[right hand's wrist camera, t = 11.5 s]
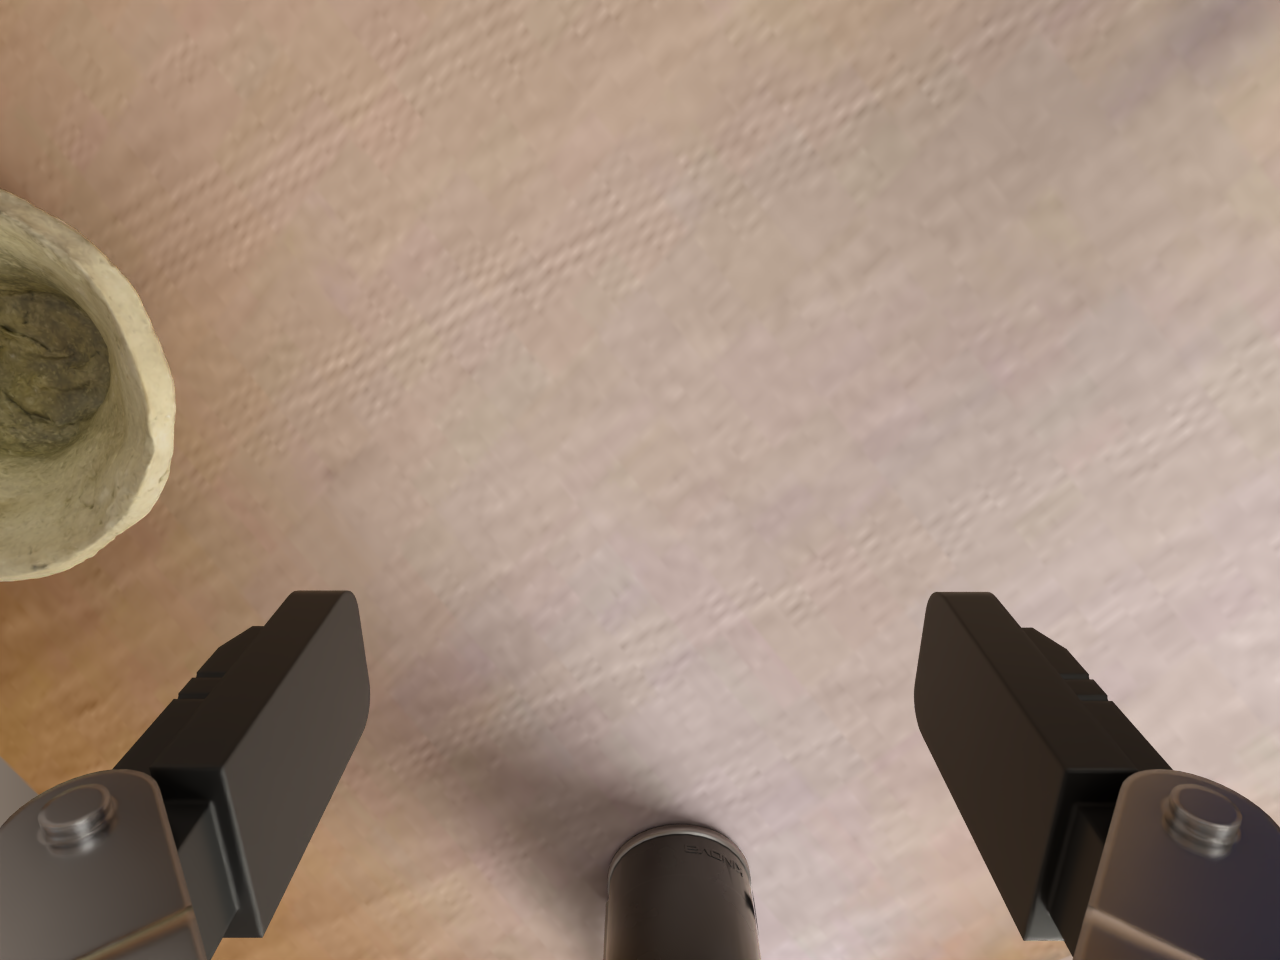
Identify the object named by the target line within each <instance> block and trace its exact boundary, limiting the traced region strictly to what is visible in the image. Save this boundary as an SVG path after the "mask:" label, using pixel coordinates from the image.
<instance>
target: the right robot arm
mask: <svg viewBox="0 0 1280 960" xmlns="http://www.w3.org/2000/svg"><path fill="white" fill-rule="evenodd" d="M369 704H370V685H369V677H368V670H367V664H366V657H365V650H364V643H363V637H362V630H361V623H360V616H359V609H358V604H357V601H356V598H355V596H354V594H353V593H352V592H351V591H294V592H292V593H291V594H290V595H289V596H288V597H287V599H286V600H285V601H284V602H283V603H282V605H281V606H280V607H279V608H278V610H277V611H276V612H275V613H274V615H273V616H272V617H271V618H270V619H269V621H268V622H267V623H266V624H265V626H252V627H251V628H249V629H247V630H246V631H244V632H243V633H241V634H239V635H238V636H236V637H235V638H233V639H232V640H230V641H228V642H227V643H225V644H224V645H222V646H220V647H219V648H218V649H217V650H216V651H215V652H214V653H213V655H212V656H211V657H210V658H209V659H208V660H207V662H206V663H205V664H204V665H203V666H202V667H201V668H200V670H199V671H198V672H197V677H196V678H192V679H191V680H190V681H189V682H188V683H187V684H186V686H185V687H184V688H183V689H182V690H181V691H180V692H179V696H178V699H173V700H172V702H171V703H170V704H169V705H168V706H167V707H166V708H165V710H164V711H163V712H162V713H161V714H160V715H159V717H158V718H157V719H156V720H155V721H154V722H153V723H152V725H151V726H150V727H149V728H148V729H147V730H146V731H145V733H144V734H143V735H142V736H141V737H140V738H139V739H138V741H137V742H136V743H135V744H134V745H133V746H132V747H131V749H130V750H129V751H128V752H127V753H126V754H125V755H124V757H123V758H122V759H121V760H120V761H119V762H118V763H117V765H116V766H115V767H114V768H113V769H112V770H106V771H99V772H95V773H90V774H86V775H83V776H80V777H77V778H74V779H71V780H69V781H66V782H64V783H61V784H59V785H57V786H55V787H53V788H51V789H49V790H47V791H45V792H43V793H42V794H40V795H38V796H36V797H35V798H33V799H32V800H30V801H29V802H27V803H26V804H25V805H23V806H22V807H21V808H19V809H18V810H17V811H16V812H15V813H14V814H13V815H11V816H10V817H9V818H8V819H7V821H6V822H5V823H4V824H3V825H2V826H1V828H0V960H211V958H212V956H213V954H214V953H215V951H216V949H217V947H218V945H219V943H220V941H221V940H222V938H263V936H264V933H265V931H266V929H267V927H268V925H269V923H270V921H271V919H272V917H273V915H274V913H275V911H276V909H277V907H278V905H279V903H280V901H281V899H282V897H283V895H284V893H285V891H286V888H287V886H288V884H289V882H290V880H291V878H292V876H293V874H294V872H295V870H296V868H297V866H298V864H299V862H300V860H301V858H302V856H303V854H304V852H305V850H306V848H307V845H308V843H309V841H310V839H311V837H312V835H313V833H314V831H315V829H316V827H317V825H318V823H319V821H320V819H321V817H322V815H323V813H324V811H325V809H326V807H327V805H328V802H329V800H330V798H331V796H332V794H333V792H334V790H335V788H336V786H337V784H338V782H339V780H340V778H341V776H342V774H343V772H344V770H345V768H346V766H347V764H348V762H349V760H350V757H351V755H352V753H353V751H354V749H355V747H356V745H357V743H358V741H359V739H360V737H361V735H362V733H363V731H364V728H365V725H366V722H367V717H368V712H369ZM914 704H915V713H916V718H917V722H918V726H919V729H920V732H921V734H922V736H923V738H924V740H925V742H926V744H927V746H928V748H929V750H930V752H931V754H932V756H933V758H934V760H935V762H936V764H937V766H938V768H939V770H940V773H941V775H942V777H943V779H944V781H945V783H946V785H947V787H948V789H949V791H950V793H951V795H952V797H953V799H954V801H955V803H956V805H957V807H958V809H959V811H960V813H961V815H962V817H963V819H964V821H965V823H966V825H967V827H968V829H969V831H970V833H971V835H972V837H973V839H974V841H975V843H976V845H977V847H978V849H979V851H980V853H981V855H982V857H983V859H984V861H985V864H986V866H987V868H988V870H989V872H990V874H991V876H992V878H993V880H994V882H995V884H996V886H997V888H998V890H999V892H1000V894H1001V896H1002V898H1003V900H1004V902H1005V904H1006V906H1007V908H1008V910H1009V912H1010V914H1011V916H1012V918H1013V920H1014V922H1015V924H1016V926H1017V928H1018V930H1019V932H1020V934H1021V936H1022V938H1023V940H1024V941H1064V942H1065V943H1066V945H1067V947H1068V949H1069V951H1070V953H1071V954H1072V956H1073V960H1280V827H1279V826H1278V825H1277V824H1276V823H1275V822H1274V821H1273V819H1272V818H1271V817H1270V816H1269V815H1267V814H1266V813H1265V812H1264V811H1263V810H1262V809H1261V808H1259V807H1258V806H1257V805H1255V804H1254V803H1253V802H1251V801H1250V800H1248V799H1247V798H1245V797H1243V796H1242V795H1240V794H1238V793H1237V792H1235V791H1233V790H1231V789H1229V788H1227V787H1225V786H1223V785H1221V784H1219V783H1216V782H1214V781H1211V780H1209V779H1206V778H1203V777H1200V776H1197V775H1194V774H1190V773H1185V772H1181V771H1174V770H1173V769H1172V768H1171V767H1170V766H1169V765H1168V764H1167V763H1166V762H1165V760H1164V759H1163V758H1162V757H1161V756H1160V755H1159V754H1158V752H1157V751H1156V750H1155V749H1154V748H1153V747H1152V746H1151V744H1150V743H1149V742H1148V741H1147V740H1146V739H1145V738H1144V737H1143V735H1142V734H1141V733H1140V732H1139V731H1138V730H1137V729H1136V727H1135V726H1134V725H1133V724H1132V723H1131V722H1130V721H1129V719H1128V718H1127V717H1126V716H1125V715H1124V714H1123V713H1122V712H1121V710H1120V709H1119V708H1118V707H1117V706H1116V705H1115V704H1114V702H1113V701H1108V699H1107V695H1106V693H1105V692H1104V691H1103V690H1102V689H1101V688H1100V687H1099V685H1098V684H1097V683H1096V682H1095V681H1094V680H1090V679H1089V674H1088V673H1087V672H1086V671H1085V670H1084V668H1083V667H1082V666H1081V665H1080V664H1079V663H1078V662H1077V660H1076V659H1075V658H1074V657H1073V656H1072V655H1071V654H1070V653H1069V651H1068V650H1067V649H1065V648H1064V647H1062V646H1061V645H1059V644H1057V643H1056V642H1054V641H1053V640H1051V639H1050V638H1048V637H1046V636H1045V635H1043V634H1042V633H1040V632H1038V631H1037V630H1035V629H1034V628H1021V627H1020V626H1019V624H1018V623H1017V622H1016V621H1015V620H1014V618H1013V617H1012V616H1011V615H1010V614H1009V612H1008V611H1007V610H1006V609H1005V607H1004V606H1003V605H1002V604H1001V603H1000V601H999V600H998V599H997V598H996V597H995V596H994V595H993V594H992V593H990V592H935V593H933V594H932V595H931V596H930V598H929V600H928V603H927V607H926V613H925V620H924V626H923V633H922V640H921V646H920V653H919V660H918V666H917V673H916V680H915V687H914ZM752 893H753V892H752ZM608 895H609V900H608V901H607V903H606V912H605V934H604V955H603V960H761V955H760V949H759V942H758V936H757V929H758V926H757V929H756V923H757V919H756V922H755V915H756V911H755V915H754V908H755V904H754V908H753V902H752V895H751V878H750V872H749V867H748V863H747V861H746V859H745V857H744V855H743V853H742V852H741V850H740V849H739V848H738V847H737V846H736V845H735V844H734V843H733V842H732V841H730V840H729V839H728V838H726V837H725V836H723V835H721V834H719V833H717V832H715V831H713V830H710V829H707V828H704V827H699V826H694V825H683V824H681V825H666V826H661V827H657V828H653V829H650V830H647V831H645V832H642V833H640V834H638V835H637V836H635V837H633V838H632V839H630V840H629V841H628V842H626V843H625V844H624V845H623V846H622V847H621V848H620V849H619V851H618V852H617V853H616V855H615V856H614V858H613V860H612V862H611V864H610V867H609V872H608ZM753 901H754V898H753ZM758 935H759V934H758Z"/></svg>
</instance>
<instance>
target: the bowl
mask: <svg viewBox="0 0 1280 960" xmlns="http://www.w3.org/2000/svg"><path fill="white" fill-rule="evenodd" d="M175 414H176V403H175V387H174V381H173V378H172V375H171V371H170V368H169V366H168V363H167V360H166V358H165V355H164V353H163V350H162V346H161V344H160V341H159V339H158V338H157V336H156V334H155V332H154V330H153V327H152V323H151V320H150V318H149V316H148V315H147V312H146V310H145V309H144V306H143V303H142V301H141V299H140V297H139V295H138V294H137V292H136V290H135V289H134V287H133V286H132V285H131V284H130V282H129V281H128V279H127V278H126V277H125V276H124V275H123V274H122V273H121V272H120V271H119V270H118V268H117V267H116V266H115V265H113V264H112V263H111V262H110V261H109V259H108V258H107V257H106V256H105V255H104V254H103V253H102V252H101V251H100V250H99V249H98V248H97V247H96V246H95V245H94V244H93V243H91V242H90V241H89V240H88V239H87V238H85V237H84V236H83V235H82V234H81V233H80V232H78V231H77V230H76V229H74V228H73V227H71V226H70V225H68V224H66V223H65V222H63V221H62V220H60V219H58V218H56V217H54V216H52V215H50V214H48V213H46V212H45V211H43V210H41V209H39V208H37V207H35V206H33V205H32V204H31V203H30V202H28V201H27V200H25V199H22V198H20V197H18V196H16V195H14V194H12V193H10V192H8V191H6V190H3V189H0V581H17V580H26V579H36V578H42V577H46V576H50V575H53V574H56V573H60V572H63V571H66V570H68V569H70V568H72V567H74V566H75V565H77V564H80V563H82V562H84V561H85V560H86V559H88V558H91V557H93V556H95V555H96V554H97V552H98V551H99V550H101V549H102V548H104V547H105V546H106V545H107V544H108V543H110V542H111V541H113V540H114V539H115V537H116V536H117V535H119V534H121V533H123V532H124V531H125V530H127V529H128V528H130V527H131V526H133V525H134V524H136V523H137V522H138V521H139V520H141V519H142V518H144V517H145V516H146V515H147V514H148V513H149V512H150V511H151V509H152V507H153V506H154V504H155V503H156V502H157V500H158V498H159V496H160V494H161V492H162V490H163V488H164V486H165V484H166V481H167V479H168V477H169V473H170V464H171V458H172V455H173V448H174V423H175Z"/></svg>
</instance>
